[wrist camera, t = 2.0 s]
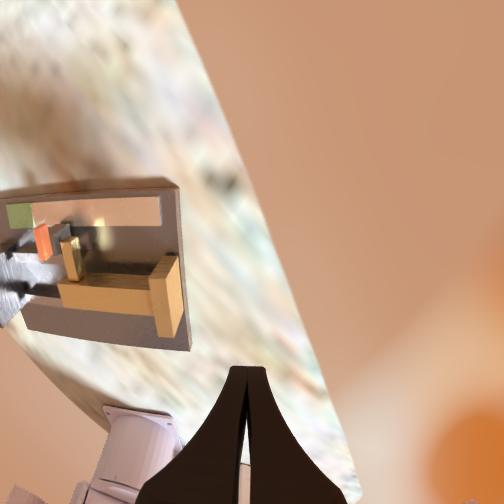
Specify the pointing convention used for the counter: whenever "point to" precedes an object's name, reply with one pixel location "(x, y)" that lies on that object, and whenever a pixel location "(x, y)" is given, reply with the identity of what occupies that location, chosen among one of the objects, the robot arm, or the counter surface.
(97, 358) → the counter surface
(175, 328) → the wooden u-shaped cradle
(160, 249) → the gauge base
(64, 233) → the orange and grey block
